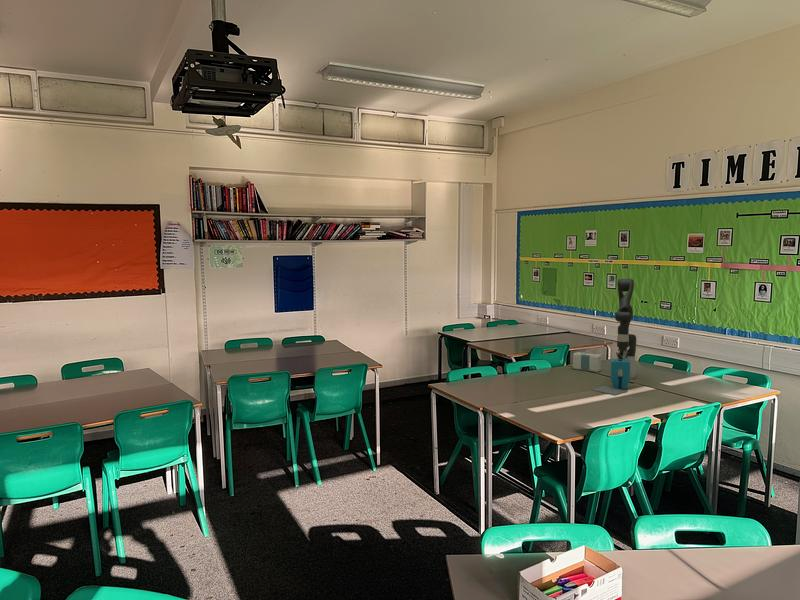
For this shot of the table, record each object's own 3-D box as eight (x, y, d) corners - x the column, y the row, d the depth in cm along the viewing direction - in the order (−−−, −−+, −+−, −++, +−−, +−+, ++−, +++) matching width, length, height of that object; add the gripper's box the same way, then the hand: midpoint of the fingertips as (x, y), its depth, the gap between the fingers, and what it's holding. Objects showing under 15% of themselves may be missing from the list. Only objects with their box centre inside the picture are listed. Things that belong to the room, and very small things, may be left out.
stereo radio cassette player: (572, 369, 446) (572, 345, 444) (576, 367, 452) (576, 343, 450) (598, 373, 433) (598, 347, 431) (601, 371, 439) (602, 346, 437)
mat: (604, 386, 392) (604, 385, 392) (627, 391, 378) (627, 390, 378) (591, 390, 384) (591, 389, 384) (615, 395, 369) (615, 394, 369)
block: (628, 386, 388) (629, 359, 383) (629, 389, 384) (630, 362, 379) (610, 385, 392) (611, 359, 387) (610, 388, 387) (611, 361, 382)
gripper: (623, 338, 393) (622, 362, 395) (612, 340, 385) (612, 365, 387) (633, 339, 387) (632, 364, 389) (622, 342, 379) (621, 367, 381)
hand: (622, 364), depth 388 cm, fingers closed
